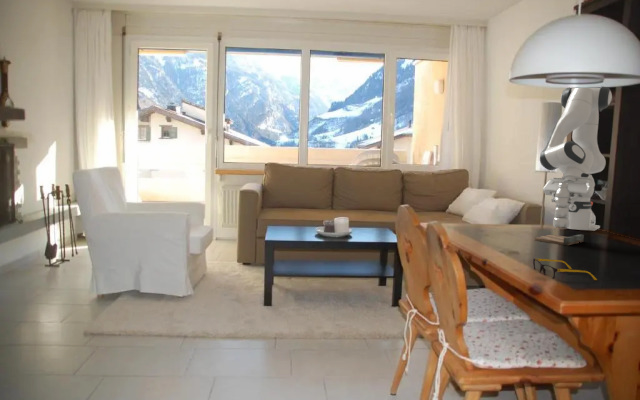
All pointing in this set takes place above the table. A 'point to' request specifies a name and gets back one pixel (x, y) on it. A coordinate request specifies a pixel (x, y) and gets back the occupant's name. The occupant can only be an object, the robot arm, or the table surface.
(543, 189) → the robot arm
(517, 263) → the table surface
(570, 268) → the eyeglasses
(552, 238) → the walnut board
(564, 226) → the plastic bottle
